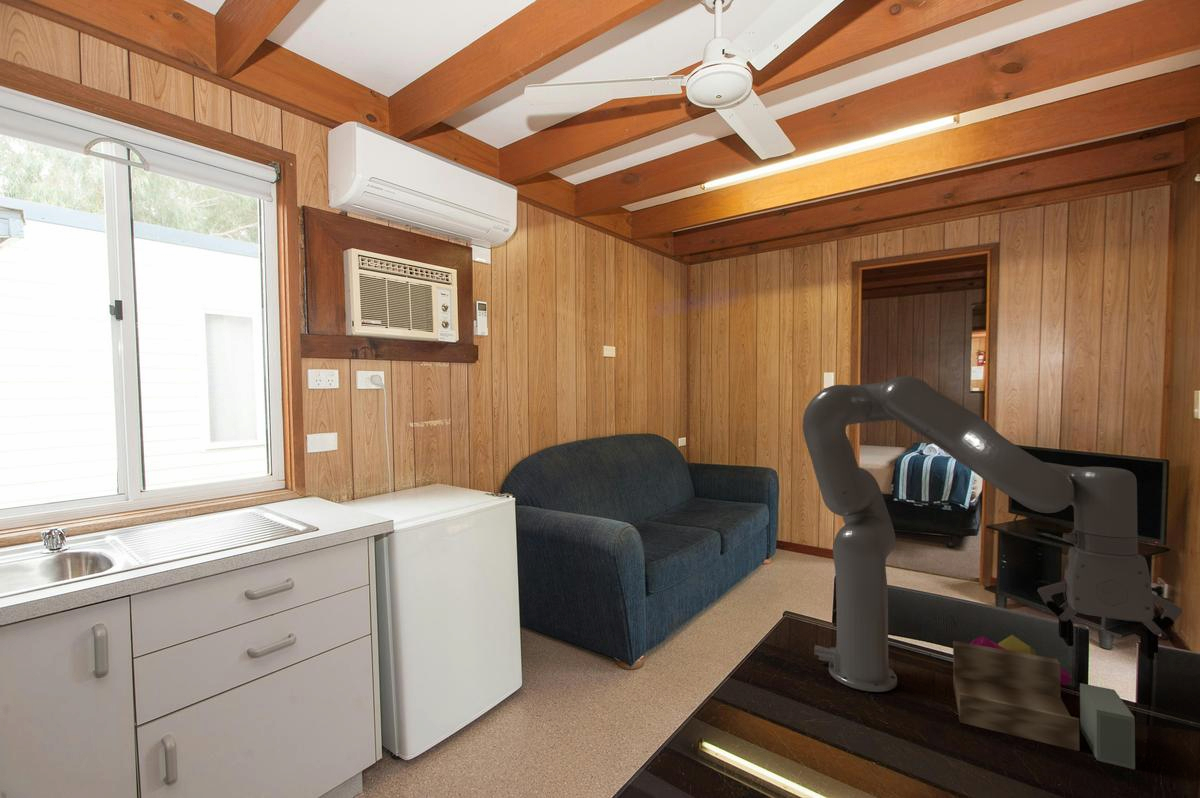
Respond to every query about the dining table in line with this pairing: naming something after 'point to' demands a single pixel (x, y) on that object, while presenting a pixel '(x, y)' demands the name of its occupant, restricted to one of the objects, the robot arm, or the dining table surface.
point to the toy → (1017, 646)
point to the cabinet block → (1107, 725)
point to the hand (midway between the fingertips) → (1106, 649)
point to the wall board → (1012, 694)
